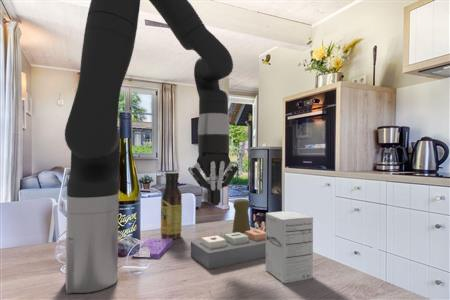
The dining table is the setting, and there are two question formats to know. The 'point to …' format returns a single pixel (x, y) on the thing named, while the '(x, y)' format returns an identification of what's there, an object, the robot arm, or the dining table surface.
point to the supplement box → (289, 246)
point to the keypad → (228, 253)
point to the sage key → (236, 238)
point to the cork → (241, 216)
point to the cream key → (213, 242)
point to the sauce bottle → (171, 207)
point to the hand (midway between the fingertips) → (214, 205)
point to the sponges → (157, 246)
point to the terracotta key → (256, 235)
